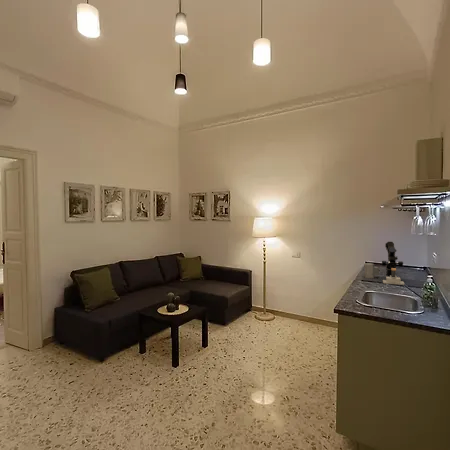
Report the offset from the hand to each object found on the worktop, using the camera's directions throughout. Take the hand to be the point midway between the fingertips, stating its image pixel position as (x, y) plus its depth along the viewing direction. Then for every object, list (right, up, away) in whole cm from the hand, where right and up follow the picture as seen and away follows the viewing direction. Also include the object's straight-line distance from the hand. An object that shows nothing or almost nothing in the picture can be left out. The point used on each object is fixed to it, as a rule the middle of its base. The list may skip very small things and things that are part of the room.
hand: (392, 270), depth 293 cm
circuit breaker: (-10, -11, +20) cm, 25 cm away
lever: (-2, -6, -4) cm, 8 cm away
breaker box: (-2, -12, -4) cm, 13 cm away
